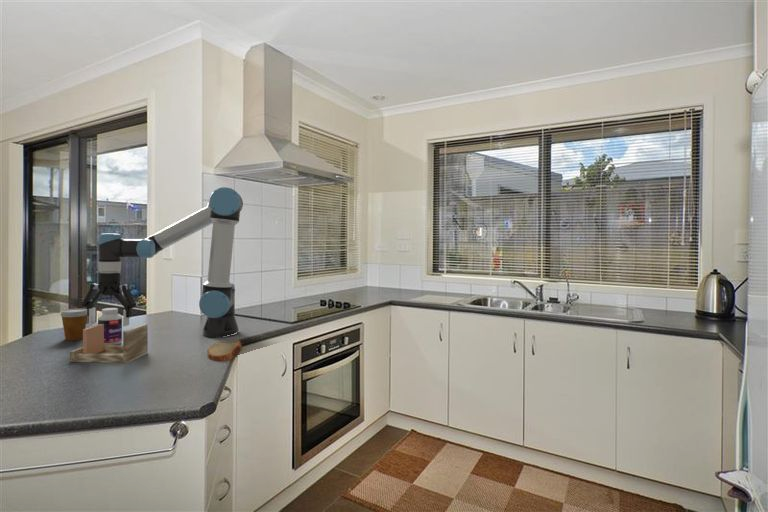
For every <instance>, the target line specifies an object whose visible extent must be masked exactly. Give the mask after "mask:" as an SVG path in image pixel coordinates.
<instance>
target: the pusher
mask: <svg viewBox="0 0 768 512" xmlns="http://www.w3.org/2000/svg"><path fill="white" fill-rule="evenodd" d="M82 347H83V354H97V353H100V352H102V351H104V324H99V325H98V324H95V325H94V326H90V327H87V328H86V327H85V329H83V339H82Z"/></svg>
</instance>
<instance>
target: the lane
mask: <svg viewBox="0 0 768 512" xmlns="http://www.w3.org/2000/svg"><path fill="white" fill-rule="evenodd" d="M148 325H149V324H148V323H143V324H139V325H138V326H134V327H131V328H129V329H126V330H124V331H123V330H122V343H123V344H122V345H115V346H114V345H104V351H102V352H100V353H97V354H83V346H80V347H78V348H75V349H73V350H70V351H69V362H71V363H74V362H76V363H109V364H110V363H111V364H113V363H114V364H115V363H117V364H118V363H119V364H128V363H131V362H133V361H135V360H136V359H139V358H140V357H142V356H145V355H147V354H148V353H149V352H148V348H149V347H148V343H149V341H148V340H149V339H148V337H149V336H148V333H149V332H148V329H149V328H148Z"/></svg>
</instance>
